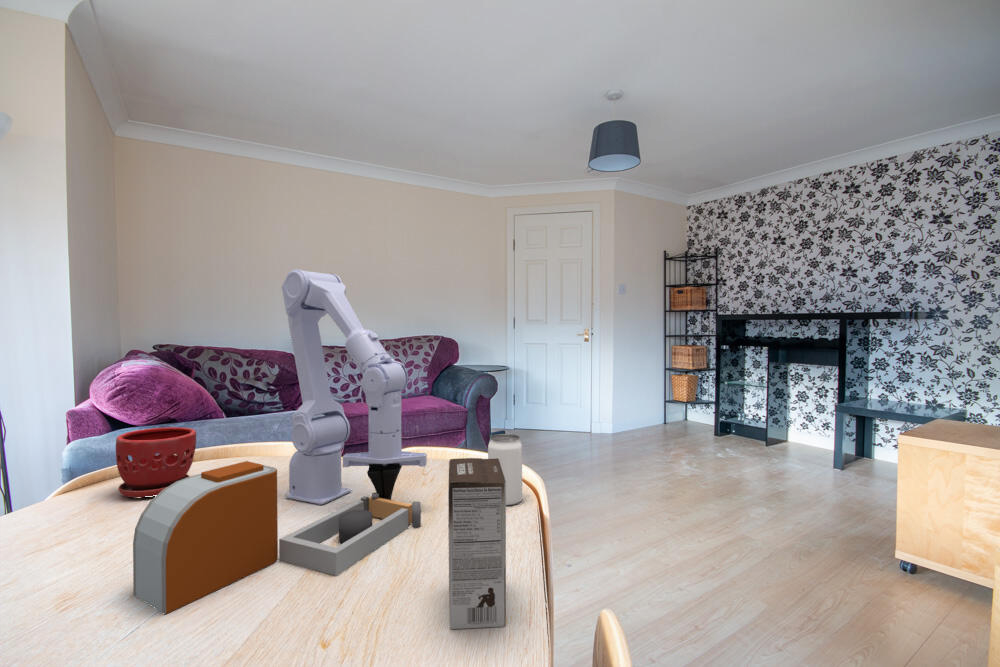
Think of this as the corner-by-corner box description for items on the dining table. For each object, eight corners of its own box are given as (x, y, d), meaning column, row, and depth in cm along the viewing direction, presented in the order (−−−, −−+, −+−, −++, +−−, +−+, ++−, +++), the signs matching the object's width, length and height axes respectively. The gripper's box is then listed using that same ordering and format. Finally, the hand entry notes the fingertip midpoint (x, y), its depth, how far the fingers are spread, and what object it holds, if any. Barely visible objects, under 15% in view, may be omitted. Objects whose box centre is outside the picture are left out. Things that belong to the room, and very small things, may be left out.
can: (519, 507, 84) (519, 441, 84) (484, 505, 85) (484, 440, 85) (524, 495, 90) (524, 434, 90) (492, 493, 91) (492, 432, 91)
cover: (368, 515, 80) (368, 494, 80) (373, 513, 81) (373, 491, 81) (417, 527, 75) (417, 504, 75) (422, 524, 76) (422, 501, 76)
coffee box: (449, 584, 58) (449, 457, 58) (500, 582, 59) (499, 456, 59) (447, 631, 49) (446, 481, 49) (507, 627, 50) (506, 479, 50)
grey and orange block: (249, 545, 69) (248, 455, 69) (284, 559, 65) (283, 463, 65) (131, 594, 57) (130, 484, 57) (165, 615, 52) (164, 496, 52)
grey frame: (279, 560, 65) (279, 537, 65) (364, 514, 81) (364, 496, 81) (336, 575, 61) (336, 551, 61) (413, 524, 77) (413, 504, 77)
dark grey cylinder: (331, 542, 71) (331, 519, 71) (355, 529, 75) (354, 507, 75) (356, 548, 68) (356, 525, 68) (379, 535, 73) (378, 513, 73)
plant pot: (115, 508, 84) (114, 443, 84) (117, 489, 94) (116, 431, 94) (200, 492, 92) (199, 433, 92) (193, 476, 103) (192, 423, 103)
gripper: (428, 425, 86) (429, 497, 86) (351, 425, 86) (351, 498, 86) (423, 433, 79) (423, 512, 79) (338, 434, 79) (338, 513, 79)
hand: (385, 506), depth 82 cm, fingers closed
